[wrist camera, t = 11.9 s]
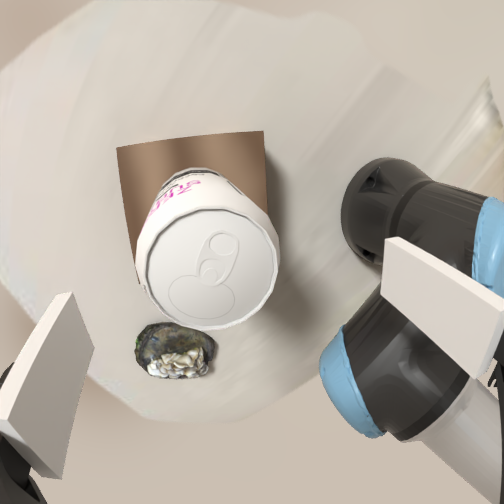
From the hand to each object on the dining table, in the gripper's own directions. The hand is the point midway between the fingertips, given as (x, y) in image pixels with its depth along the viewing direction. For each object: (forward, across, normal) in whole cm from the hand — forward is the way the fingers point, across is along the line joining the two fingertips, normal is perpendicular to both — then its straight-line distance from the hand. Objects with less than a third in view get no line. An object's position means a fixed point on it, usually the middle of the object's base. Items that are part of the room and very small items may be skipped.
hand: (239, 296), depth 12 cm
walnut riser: (+25, +1, +1) cm, 25 cm away
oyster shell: (+26, +8, +21) cm, 34 cm away
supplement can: (+19, +1, +1) cm, 19 cm away
